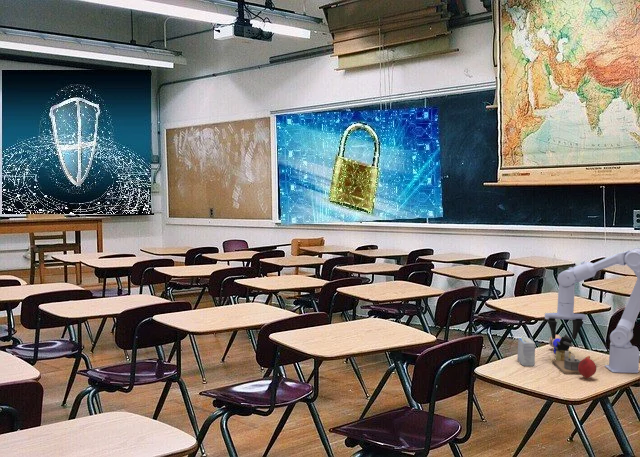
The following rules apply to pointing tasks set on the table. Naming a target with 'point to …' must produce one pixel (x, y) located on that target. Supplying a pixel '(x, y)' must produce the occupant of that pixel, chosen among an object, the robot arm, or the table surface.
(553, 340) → the character figurine
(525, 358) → the medicine box
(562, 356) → the golden octagonal nut
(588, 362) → the onion
